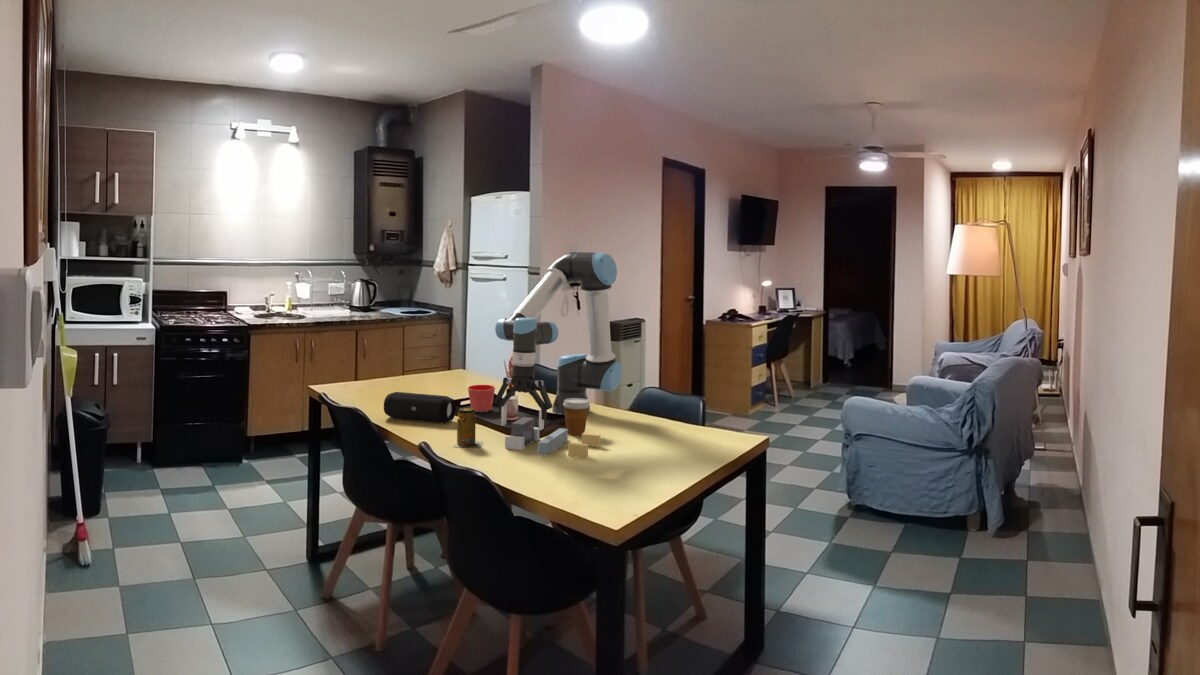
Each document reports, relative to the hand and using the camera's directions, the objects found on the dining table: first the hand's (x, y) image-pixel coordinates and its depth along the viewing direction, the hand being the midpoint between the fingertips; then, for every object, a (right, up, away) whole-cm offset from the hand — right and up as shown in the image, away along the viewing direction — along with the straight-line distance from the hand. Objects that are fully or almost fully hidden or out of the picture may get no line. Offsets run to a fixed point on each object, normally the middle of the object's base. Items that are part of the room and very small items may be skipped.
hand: (522, 427), depth 252 cm
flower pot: (-21, +1, +47) cm, 52 cm away
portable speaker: (-41, -1, +29) cm, 51 cm away
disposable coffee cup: (+17, -4, +17) cm, 24 cm away
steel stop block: (0, -6, +1) cm, 6 cm away
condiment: (-18, -6, -2) cm, 19 cm away
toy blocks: (+11, -6, -2) cm, 12 cm away
